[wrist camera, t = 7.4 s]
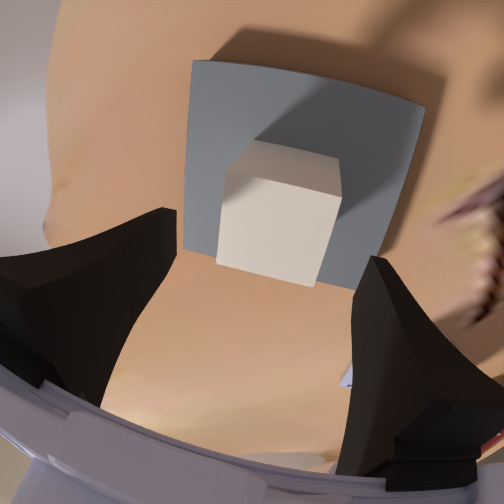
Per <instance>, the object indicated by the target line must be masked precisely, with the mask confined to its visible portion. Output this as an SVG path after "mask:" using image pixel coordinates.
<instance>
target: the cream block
mask: <svg viewBox="0 0 504 504" xmlns="http://www.w3.org/2000/svg"><path fill="white" fill-rule="evenodd" d="M341 200H342V189H341V177H340V167H339V159H337V158H333V157H329V156H325V155H321V154H317V153H313V152H309V151H305V150H300V149H296V148H292V147H287V146H283V145H278V144H273V143H268V142H263V141H258V140H253V141H252V142H251V143H250V144H249V145H248V146H247V147H246V148H245V150H244V151H243V152H242V153H241V154H240V155H239V156H238V157H237V159H236V160H235V161H234V162H233V163H232V164H231V165H230V166H229V168H228V169H227V170H226V173H225V182H224V191H223V200H222V209H221V219H220V229H219V239H218V249H217V260H216V264H220V265H224V266H228V267H232V268H236V269H240V270H244V271H248V272H252V273H256V274H260V275H263V276H267V277H272V278H276V279H280V280H284V281H288V282H292V283H296V284H300V285H304V286H308V287H312V288H313V287H314V284H315V281H316V278H317V275H318V272H319V269H320V266H321V263H322V260H323V257H324V254H325V251H326V248H327V245H328V242H329V239H330V236H331V233H332V230H333V226H334V223H335V220H336V217H337V214H338V210H339V207H340V204H341Z"/></svg>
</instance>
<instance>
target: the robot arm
mask: <svg viewBox="0 0 504 504" xmlns="http://www.w3.org/2000/svg"><path fill="white" fill-rule="evenodd" d="M176 218H177V210H173V209H168V208H164V207H161V208H158V209H155V210H153V211H150V212H148V213H145V214H143V215H141V216H139V217H136V218H134V219H132V220H130V221H128V222H125V223H123V224H121V225H119V226H116V227H114V228H112V229H109V230H107V231H104V232H102V233H100V234H97V235H95V236H92V237H89V238H87V239H84V240H81V241H78V242H75V243H72V244H68V245H65V246H61V247H57V248H53V249H50V250H46V251H41V252H36V253H30V254H25V255H18V256H9V257H0V435H2V436H3V437H4V438H5V439H7V440H8V441H9V442H10V443H12V444H13V445H14V446H16V447H17V448H18V449H20V450H21V451H22V452H24V453H25V454H26V455H28V456H29V457H30V458H32V459H33V461H32V463H31V464H30V467H29V468H28V470H27V472H26V474H25V476H24V478H23V480H22V482H21V483H20V486H19V487H18V489H17V492H16V493H15V495H14V497H13V500H12V502H11V504H504V462H500V463H494V464H493V463H492V464H486V465H482V466H479V467H477V465H476V459H479V458H480V457H481V455H482V454H481V446H482V445H484V444H485V443H487V442H488V441H489V440H491V439H492V438H493V437H495V436H496V435H497V434H499V433H500V432H501V431H502V430H503V429H504V387H502V386H501V385H500V384H498V383H497V382H495V381H494V380H493V379H491V378H490V377H488V376H487V375H486V374H485V373H483V372H482V371H481V370H480V369H479V368H477V367H476V366H475V365H474V364H473V363H471V362H470V361H469V360H468V359H467V358H466V357H465V356H464V355H463V354H462V353H461V352H460V351H459V350H458V349H457V348H456V347H455V346H454V345H453V344H452V343H451V342H450V341H449V340H448V339H447V338H446V337H445V336H444V335H443V334H442V333H441V331H440V330H439V329H438V328H437V327H436V326H435V325H434V323H433V322H432V321H431V320H430V319H429V317H428V316H427V315H426V313H425V312H424V311H423V309H422V308H421V307H420V306H419V304H418V303H417V301H416V300H415V299H414V297H413V296H412V294H411V293H410V292H409V290H408V289H407V287H406V286H405V284H404V283H403V281H402V280H401V279H400V277H399V276H398V274H397V273H396V271H395V270H394V268H393V267H392V266H391V264H390V263H389V262H388V260H387V259H385V258H381V257H377V256H373V255H371V256H370V258H369V261H368V263H367V266H366V268H365V270H364V273H363V275H362V278H361V280H360V282H359V285H358V287H357V289H356V292H355V294H354V296H353V303H352V315H351V334H352V363H351V365H350V367H349V368H348V370H347V372H346V373H345V375H344V376H343V378H342V379H341V381H340V386H341V387H344V388H350V389H351V397H350V405H349V411H348V417H347V423H346V429H345V434H344V439H343V443H342V448H341V452H340V456H339V460H338V461H337V462H336V463H334V465H333V466H332V467H331V469H330V470H329V471H328V472H327V474H325V473H317V472H309V471H303V470H296V469H290V468H285V467H278V466H274V465H269V464H264V463H259V462H255V461H250V460H246V459H241V458H238V457H234V456H230V455H226V454H222V453H219V452H215V451H212V450H208V449H205V448H201V447H198V446H195V445H192V444H189V443H186V442H182V441H179V440H177V439H174V438H171V437H168V436H165V435H162V434H160V433H157V432H154V431H152V430H149V429H147V428H144V427H142V426H139V425H137V424H134V423H132V422H129V421H127V420H125V419H122V418H120V417H118V416H115V415H113V414H111V413H109V412H107V411H105V410H102V409H100V405H101V402H102V399H103V396H104V393H105V390H106V387H107V384H108V382H109V379H110V376H111V374H112V371H113V369H114V366H115V364H116V361H117V359H118V357H119V355H120V352H121V350H122V348H123V346H124V343H125V341H126V339H127V337H128V335H129V333H130V331H131V329H132V327H133V325H134V324H135V322H136V320H137V319H138V317H139V315H140V314H141V312H142V311H143V309H144V308H145V306H146V305H147V304H148V302H149V301H150V299H151V298H152V296H153V295H154V293H155V292H156V290H157V289H158V287H159V286H160V284H161V283H162V281H163V280H164V278H165V277H166V275H167V273H168V272H169V270H170V268H171V266H172V264H173V262H174V259H175V257H176V255H177V235H176Z"/></svg>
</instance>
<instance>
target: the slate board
mask: <svg viewBox="0 0 504 504" xmlns="http://www.w3.org/2000/svg"><path fill="white" fill-rule="evenodd" d="M425 110H426V107H424V106H422V105H420V104H418V103H416V102H413V101H411V100H408V99H405V98H402V97H399V96H396V95H392V94H389V93H386V92H383V91H379V90H376V89H373V88H369V87H366V86H362V85H358V84H354V83H351V82H347V81H343V80H338V79H334V78H330V77H325V76H321V75H316V74H311V73H306V72H301V71H296V70H290V69H284V68H278V67H271V66H264V65H257V64H249V63H240V62H230V61H219V60H193V65H192V75H191V86H190V98H189V112H188V126H187V143H186V162H185V188H184V236H183V249H185V250H189V251H193V252H197V253H201V254H205V255H209V256H213V257H217V249H218V239H219V229H220V219H221V209H222V200H223V191H224V182H225V173H226V170H227V169H228V168H229V166H230V165H231V164H232V163H233V162H234V161H235V160H236V159H237V157H238V156H239V155H240V154H241V153H242V152H243V151H244V150H245V148H246V147H247V146H248V145H249V144H250V143H251V142H252V141H253V140H258V141H263V142H268V143H273V144H278V145H283V146H287V147H292V148H296V149H300V150H305V151H309V152H313V153H317V154H321V155H325V156H329V157H333V158H337V159H339V167H340V177H341V189H342V200H341V204H340V207H339V210H338V214H337V217H336V220H335V223H334V226H333V230H332V233H331V236H330V239H329V242H328V245H327V248H326V251H325V254H324V257H323V260H322V263H321V266H320V269H319V272H318V275H317V278H316V281H319V282H323V283H327V284H332V285H336V286H340V287H345V288H349V289H353V290H356V289H357V287H358V285H359V282H360V280H361V278H362V275H363V273H364V270H365V268H366V266H367V263H368V261H369V258H370V256H371V255H373V256H377V254H378V252H379V249H380V247H381V244H382V242H383V239H384V237H385V234H386V232H387V229H388V226H389V224H390V221H391V218H392V216H393V213H394V210H395V207H396V205H397V202H398V199H399V196H400V193H401V190H402V187H403V184H404V181H405V178H406V175H407V172H408V169H409V166H410V163H411V160H412V157H413V153H414V150H415V147H416V143H417V140H418V136H419V133H420V129H421V126H422V122H423V118H424V114H425Z"/></svg>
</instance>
